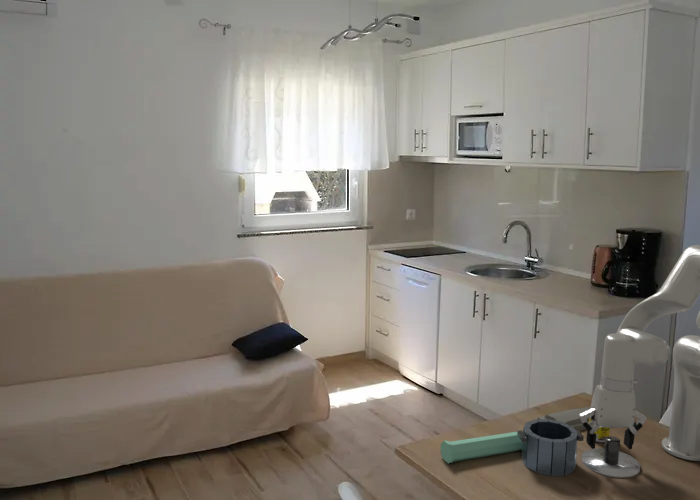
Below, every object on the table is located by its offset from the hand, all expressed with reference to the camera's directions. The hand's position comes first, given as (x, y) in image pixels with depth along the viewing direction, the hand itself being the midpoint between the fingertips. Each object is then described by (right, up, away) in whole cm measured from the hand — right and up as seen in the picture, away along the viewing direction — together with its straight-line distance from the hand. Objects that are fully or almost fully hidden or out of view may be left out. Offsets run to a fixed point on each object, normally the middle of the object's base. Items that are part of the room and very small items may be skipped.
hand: (609, 446), depth 167 cm
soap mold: (0, -1, +25) cm, 25 cm away
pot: (-15, -5, +1) cm, 16 cm away
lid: (+1, -5, +1) cm, 5 cm away
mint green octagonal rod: (-30, -4, +6) cm, 31 cm away
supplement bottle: (+3, -3, +15) cm, 15 cm away
